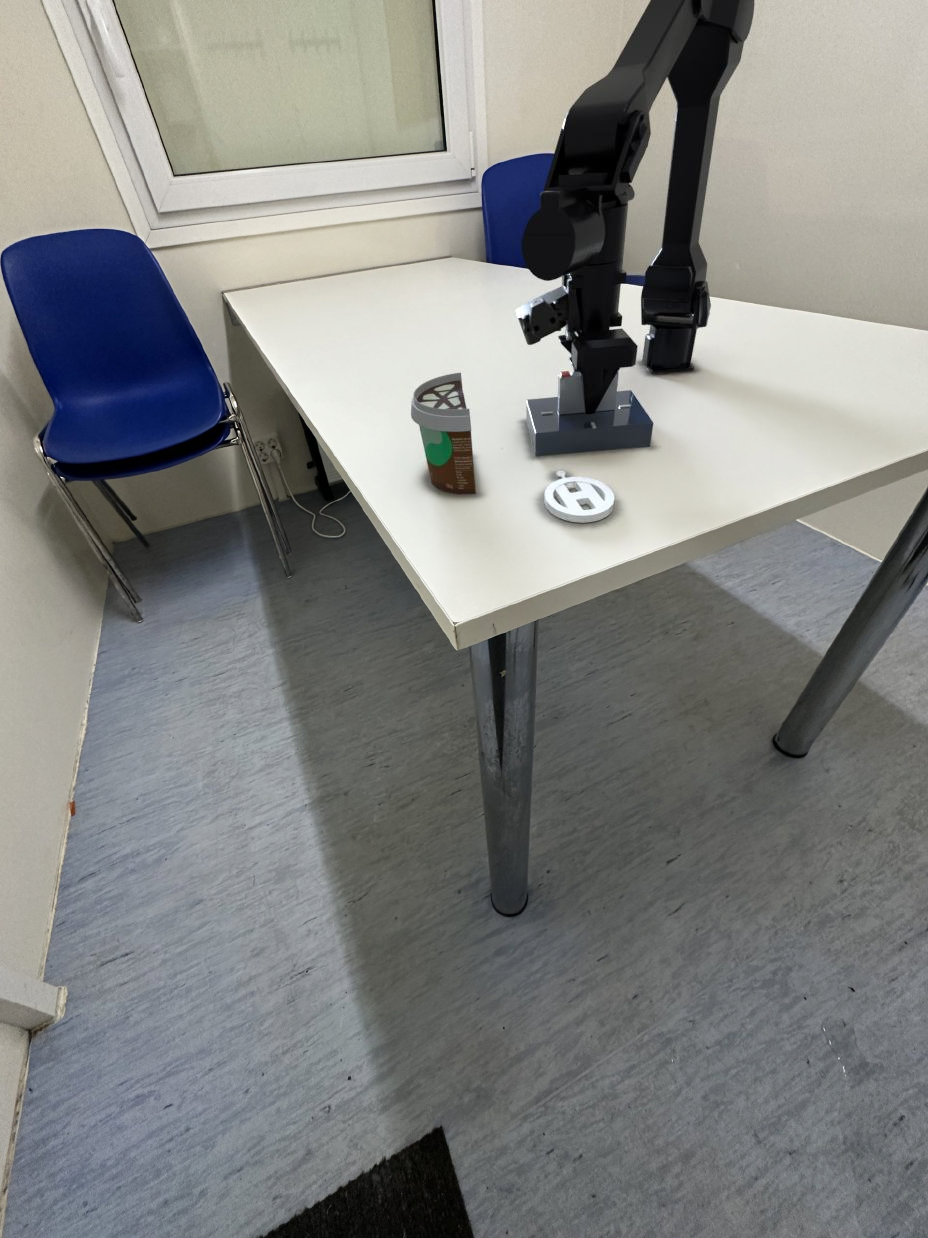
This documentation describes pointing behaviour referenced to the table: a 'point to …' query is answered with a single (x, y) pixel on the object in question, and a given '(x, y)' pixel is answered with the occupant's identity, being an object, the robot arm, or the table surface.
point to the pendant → (579, 499)
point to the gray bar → (581, 394)
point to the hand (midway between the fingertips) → (586, 406)
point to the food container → (445, 433)
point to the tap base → (588, 427)
